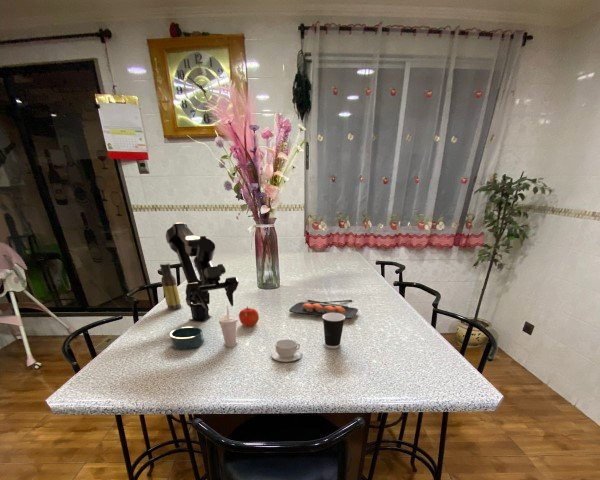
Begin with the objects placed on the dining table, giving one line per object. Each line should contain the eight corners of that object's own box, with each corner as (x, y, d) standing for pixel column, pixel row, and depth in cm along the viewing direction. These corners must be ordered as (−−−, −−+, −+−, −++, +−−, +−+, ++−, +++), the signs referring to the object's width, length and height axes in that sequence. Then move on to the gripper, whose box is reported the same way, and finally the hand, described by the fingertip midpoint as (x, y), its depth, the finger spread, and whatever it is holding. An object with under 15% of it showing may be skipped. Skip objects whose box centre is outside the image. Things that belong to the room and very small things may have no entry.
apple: (256, 329, 144) (254, 309, 139) (237, 328, 145) (235, 308, 141) (261, 322, 150) (260, 303, 146) (243, 321, 152) (241, 302, 147)
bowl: (165, 347, 129) (163, 335, 127) (185, 336, 138) (182, 325, 135) (191, 352, 125) (189, 340, 123) (209, 340, 134) (208, 329, 132)
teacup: (279, 365, 116) (278, 352, 114) (267, 353, 124) (266, 341, 121) (306, 359, 120) (306, 346, 118) (293, 348, 128) (292, 335, 125)
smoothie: (242, 342, 132) (239, 305, 125) (234, 349, 127) (230, 310, 120) (227, 340, 134) (222, 303, 127) (218, 346, 129) (213, 308, 122)
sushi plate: (286, 315, 158) (286, 306, 156) (310, 296, 182) (310, 289, 180) (350, 323, 149) (351, 314, 147) (367, 302, 172) (368, 294, 170)
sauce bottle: (178, 304, 171) (169, 261, 161) (183, 308, 167) (175, 263, 157) (165, 307, 168) (155, 263, 157) (170, 311, 164) (161, 265, 153)
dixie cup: (318, 348, 127) (319, 318, 122) (325, 340, 134) (326, 311, 128) (339, 351, 125) (341, 321, 119) (346, 343, 131) (348, 314, 125)
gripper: (181, 259, 120) (197, 300, 117) (233, 253, 128) (249, 291, 126) (179, 278, 129) (194, 316, 127) (228, 272, 138) (242, 307, 136)
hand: (220, 307), depth 129 cm, fingers open, 9 cm apart
